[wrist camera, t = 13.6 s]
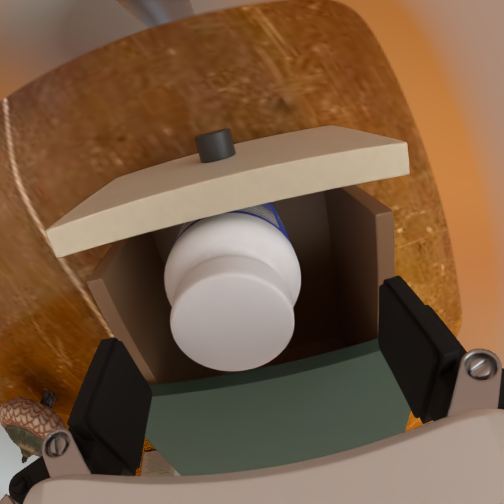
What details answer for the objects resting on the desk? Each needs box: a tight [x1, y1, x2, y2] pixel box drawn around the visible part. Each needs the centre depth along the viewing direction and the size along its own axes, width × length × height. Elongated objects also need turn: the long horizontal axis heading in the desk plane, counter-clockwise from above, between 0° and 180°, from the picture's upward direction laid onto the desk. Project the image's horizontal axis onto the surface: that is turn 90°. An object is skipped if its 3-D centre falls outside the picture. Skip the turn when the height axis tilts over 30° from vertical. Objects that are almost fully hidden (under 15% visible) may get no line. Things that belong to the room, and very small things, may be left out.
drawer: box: [46, 125, 410, 385], centre depth 17 cm, size 17×13×9 cm
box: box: [141, 451, 181, 476], centre depth 27 cm, size 5×4×13 cm
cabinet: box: [145, 338, 411, 476], centre depth 21 cm, size 17×15×11 cm
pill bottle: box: [164, 202, 301, 371], centre depth 14 cm, size 5×5×10 cm
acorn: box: [0, 388, 67, 463], centre depth 23 cm, size 8×8×10 cm
